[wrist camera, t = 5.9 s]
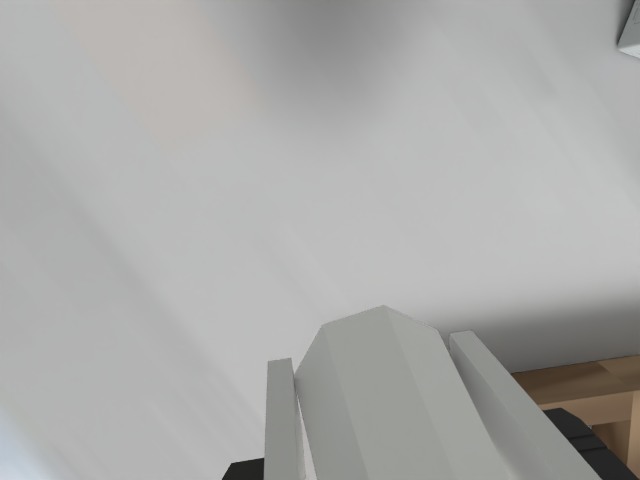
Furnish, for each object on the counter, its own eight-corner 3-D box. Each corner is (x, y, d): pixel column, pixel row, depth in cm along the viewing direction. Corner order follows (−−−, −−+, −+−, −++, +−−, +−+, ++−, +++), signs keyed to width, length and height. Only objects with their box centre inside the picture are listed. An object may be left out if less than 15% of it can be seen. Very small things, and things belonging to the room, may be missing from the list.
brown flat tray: (328, 400, 26) (334, 438, 23) (689, 347, 27) (741, 377, 24) (346, 531, 29) (353, 581, 26) (672, 481, 30) (717, 523, 27)
